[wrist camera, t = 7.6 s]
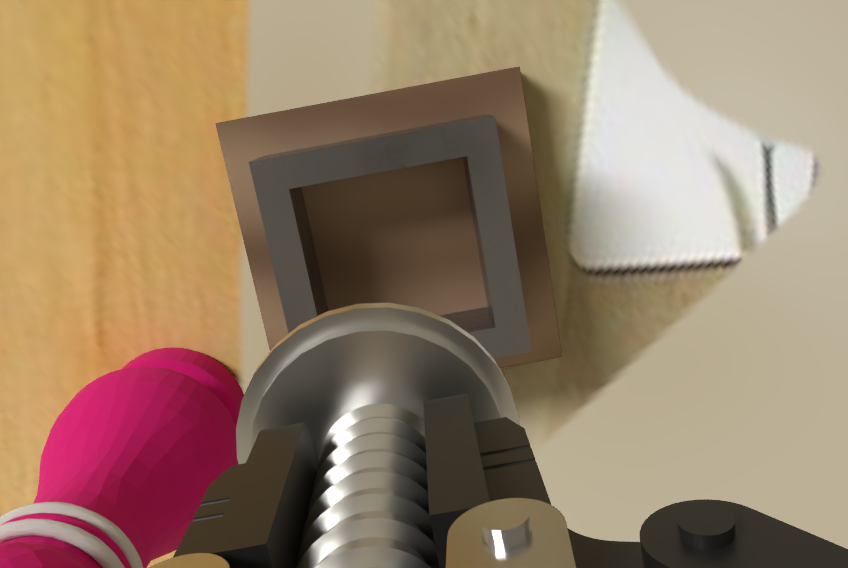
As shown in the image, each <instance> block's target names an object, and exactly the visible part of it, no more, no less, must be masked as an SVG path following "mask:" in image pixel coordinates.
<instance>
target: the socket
mask: <svg viewBox="0 0 848 568" xmlns="http://www.w3.org/2000/svg"><path fill="white" fill-rule="evenodd" d="M459 157H463V163H464V169H465V175H466V181H467V187H468V193H469V199H470V205H471V211H472V217H473V223H474V229H475V235H476V241H477V247H478V253H479V259H480V264H481V270H482V276H483V282H484V288H485V294H486V300H487V306H488V307H483V308H477V309H472V310H466V311H461V312H455V313H450V314H444V315H438V316H441V317H443V318H446V319H448V320H450V321H451V322H453V323H454V324H456V325H457V326H459V327H460V328H462V329H463V330H464V331H466V332H467V333H469V334H470V335H472V336H473V337H474V338H475V339H476V340H477V341H478V342H479V343H480V344H481V345H482V346H483V347H484V348H485V350H486V351H487V352H488V353H489V354H490V355H491V356H492V357H493V358H499V357H504V356H510V355H515V354H521V353H527V352H532V350H531V344H530V337H529V331H528V325H527V318H526V312H525V305H524V299H523V293H522V286H521V280H520V273H519V267H518V261H517V254H516V248H515V241H514V235H513V229H512V222H511V216H510V209H509V203H508V197H507V190H506V184H505V177H504V171H503V165H502V158H501V152H500V145H499V139H498V133H497V126H496V120H495V116H492V115H487V114H486V115H480V116H475V117H469V118H464V119H459V120H453V121H448V122H443V123H437V124H432V125H426V126H421V127H416V128H410V129H405V130H399V131H394V132H389V133H383V134H378V135H373V136H367V137H362V138H356V139H351V140H346V141H340V142H335V143H330V144H324V145H319V146H313V147H308V148H303V149H297V150H292V151H287V152H281V153H276V154H270V155H265V156H262V157H259V158H257V159H255V160H252V161H250V162H249V166H250V170H251V175H252V179H253V183H254V187H255V192H256V196H257V200H258V205H259V209H260V213H261V217H262V222H263V226H264V230H265V235H266V239H267V243H268V248H269V252H270V256H271V260H272V265H273V269H274V273H275V278H276V282H277V286H278V290H279V295H280V299H281V303H282V308H283V312H284V316H285V321H286V325H287V329H288V333H290V332H292V331H293V330H294V329H295V328H297V327H298V326H299V325H301V324H303V323H305V322H307V321H309V320H311V319H313V318H315V317H317V316H319V315H321V314H323V313H325V312H327V311H328V306H327V301H326V297H325V292H324V288H323V283H322V278H321V274H320V269H319V265H318V260H317V256H316V251H315V246H314V242H313V237H312V233H311V228H310V224H309V219H308V214H307V210H306V205H305V201H304V196H303V192H302V187H303V186H308V185H313V184H319V183H324V182H330V181H335V180H340V179H346V178H351V177H357V176H362V175H368V174H373V173H378V172H384V171H389V170H395V169H400V168H405V167H411V166H416V165H422V164H427V163H432V162H438V161H443V160H449V159H454V158H459Z"/></svg>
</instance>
